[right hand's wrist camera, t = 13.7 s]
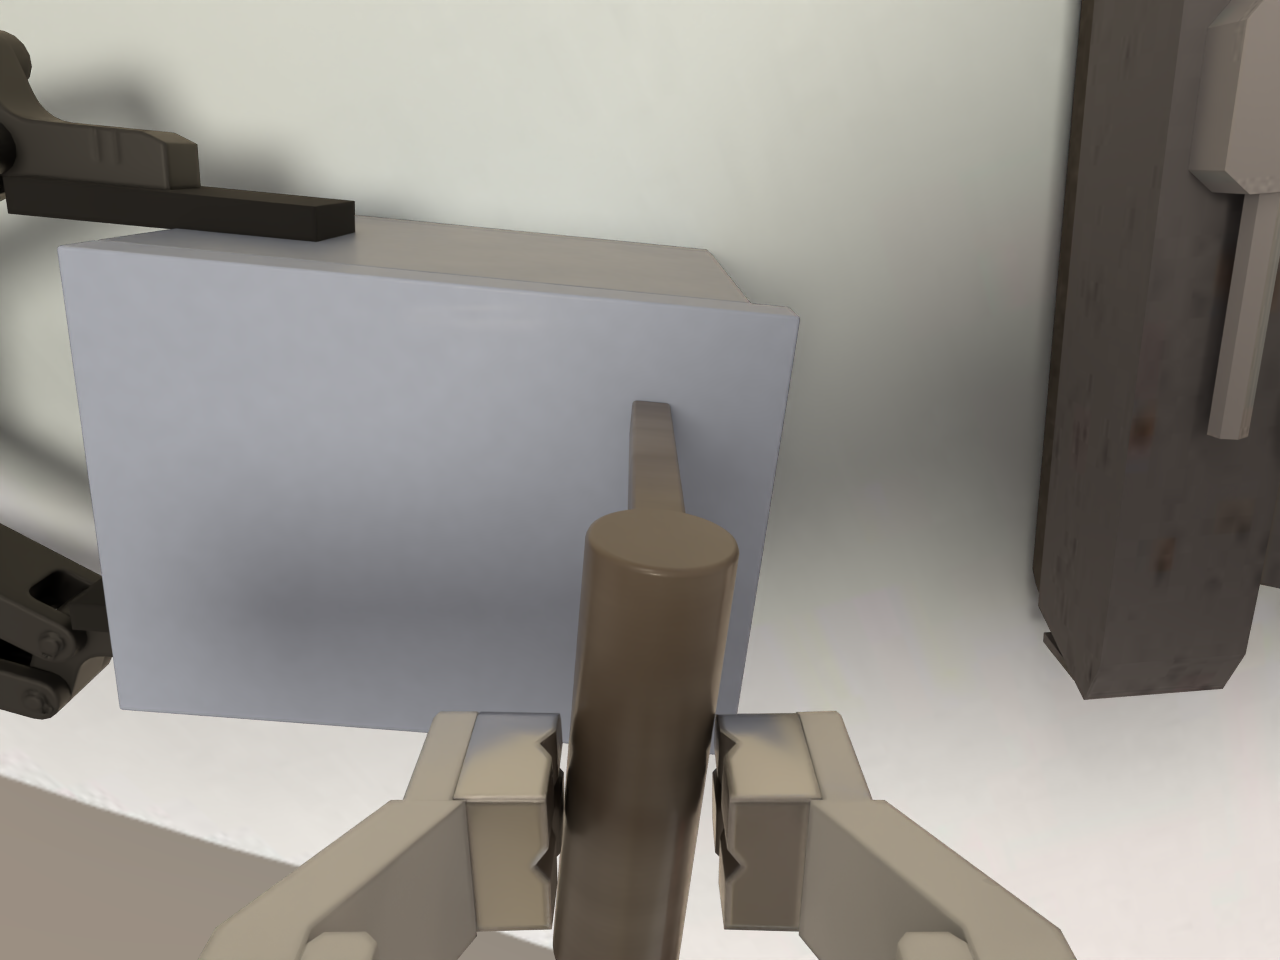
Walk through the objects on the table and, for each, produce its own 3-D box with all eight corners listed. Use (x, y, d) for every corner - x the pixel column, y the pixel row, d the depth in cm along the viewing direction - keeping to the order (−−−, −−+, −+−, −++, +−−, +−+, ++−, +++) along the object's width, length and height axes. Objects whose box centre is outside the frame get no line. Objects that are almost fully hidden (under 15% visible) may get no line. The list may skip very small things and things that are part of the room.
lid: (790, 306, 16) (934, 442, 8) (725, 725, 19) (786, 1103, 12) (92, 239, 16) (-443, 317, 8) (147, 680, 19) (-195, 1044, 11)
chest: (709, 249, 26) (752, 302, 16) (675, 535, 29) (693, 722, 19) (301, 209, 25) (94, 240, 16) (313, 503, 29) (148, 679, 19)
